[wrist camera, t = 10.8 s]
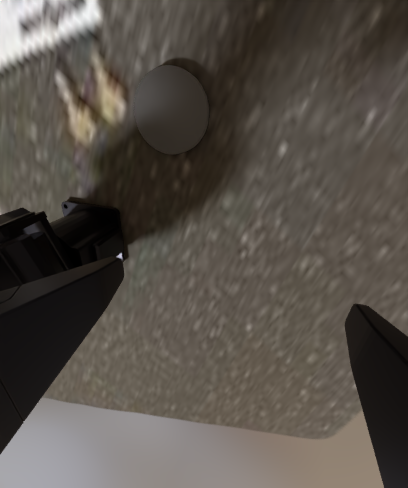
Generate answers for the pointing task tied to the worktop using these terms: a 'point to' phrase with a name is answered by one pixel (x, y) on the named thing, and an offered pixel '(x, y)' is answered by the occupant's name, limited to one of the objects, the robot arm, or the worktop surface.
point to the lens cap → (171, 109)
